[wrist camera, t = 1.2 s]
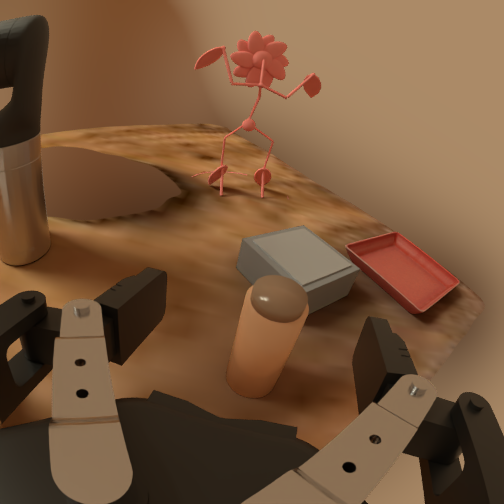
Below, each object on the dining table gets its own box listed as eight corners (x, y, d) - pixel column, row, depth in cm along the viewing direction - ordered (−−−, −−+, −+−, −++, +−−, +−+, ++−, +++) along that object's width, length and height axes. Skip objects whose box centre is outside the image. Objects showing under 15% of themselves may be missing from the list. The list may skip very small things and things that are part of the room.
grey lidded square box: (236, 267, 46) (242, 237, 43) (295, 250, 53) (304, 224, 50) (289, 323, 39) (302, 292, 36) (347, 295, 46) (360, 267, 43)
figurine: (299, 202, 70) (338, 49, 51) (181, 196, 61) (208, 18, 42) (275, 176, 82) (304, 47, 63) (176, 170, 73) (197, 26, 54)
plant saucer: (413, 327, 43) (423, 311, 41) (337, 259, 54) (343, 243, 52) (452, 294, 52) (461, 281, 51) (390, 243, 64) (396, 230, 62)
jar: (216, 368, 31) (234, 281, 24) (255, 350, 34) (284, 266, 27) (245, 406, 28) (276, 326, 21) (285, 384, 31) (325, 303, 24)
